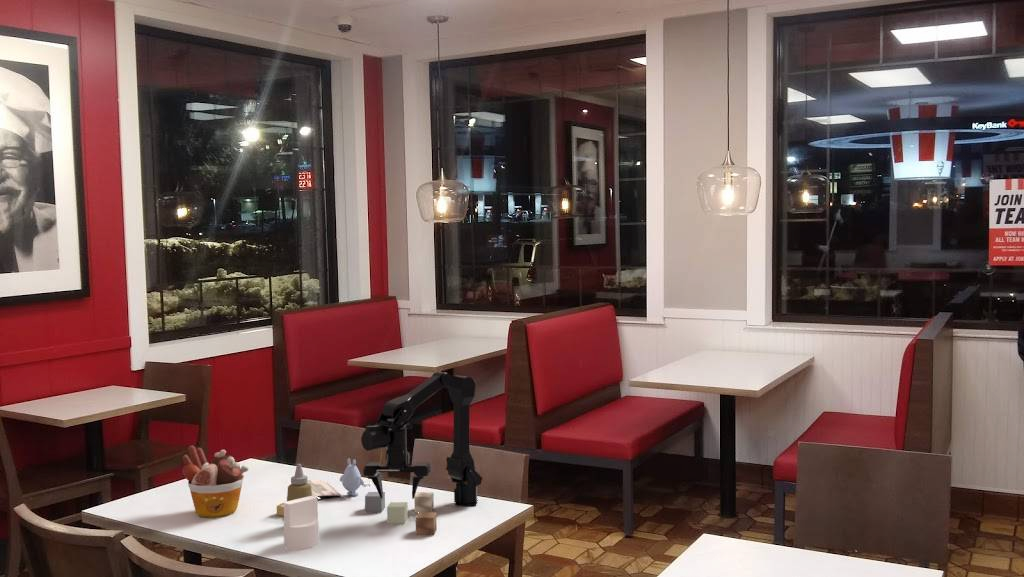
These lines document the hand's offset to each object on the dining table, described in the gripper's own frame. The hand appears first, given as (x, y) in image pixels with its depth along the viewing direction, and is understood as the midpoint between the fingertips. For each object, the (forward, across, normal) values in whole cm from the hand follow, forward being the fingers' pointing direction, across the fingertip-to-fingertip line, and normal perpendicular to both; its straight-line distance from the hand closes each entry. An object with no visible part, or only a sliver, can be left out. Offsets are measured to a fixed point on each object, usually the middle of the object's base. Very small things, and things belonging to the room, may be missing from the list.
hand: (397, 498), depth 259 cm
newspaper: (+8, +33, -31) cm, 46 cm away
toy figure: (+7, +20, -27) cm, 34 cm away
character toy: (+7, +33, -4) cm, 34 cm away
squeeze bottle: (+7, +27, +6) cm, 28 cm away
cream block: (+7, -6, -11) cm, 14 cm away
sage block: (+7, 0, 0) cm, 7 cm away
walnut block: (+7, -10, +10) cm, 16 cm away
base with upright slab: (+7, +22, +21) cm, 31 cm away
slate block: (+7, +9, -11) cm, 16 cm away
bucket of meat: (+7, +57, -7) cm, 58 cm away
